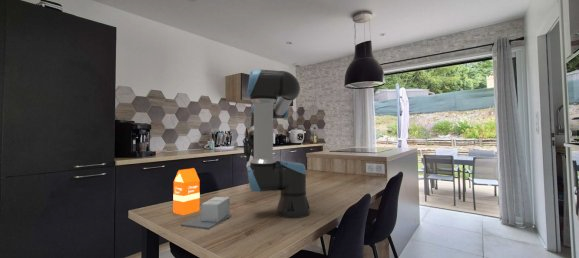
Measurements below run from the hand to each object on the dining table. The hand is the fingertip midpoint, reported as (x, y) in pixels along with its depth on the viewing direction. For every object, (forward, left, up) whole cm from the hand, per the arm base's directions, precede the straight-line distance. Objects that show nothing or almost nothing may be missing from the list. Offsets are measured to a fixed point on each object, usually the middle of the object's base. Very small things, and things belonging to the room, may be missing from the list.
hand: (248, 166), depth 130 cm
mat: (-15, +25, -19) cm, 35 cm away
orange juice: (+4, +30, -20) cm, 36 cm away
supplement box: (-10, +17, -15) cm, 25 cm away
